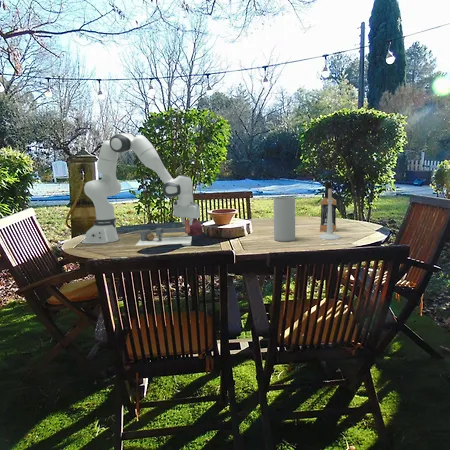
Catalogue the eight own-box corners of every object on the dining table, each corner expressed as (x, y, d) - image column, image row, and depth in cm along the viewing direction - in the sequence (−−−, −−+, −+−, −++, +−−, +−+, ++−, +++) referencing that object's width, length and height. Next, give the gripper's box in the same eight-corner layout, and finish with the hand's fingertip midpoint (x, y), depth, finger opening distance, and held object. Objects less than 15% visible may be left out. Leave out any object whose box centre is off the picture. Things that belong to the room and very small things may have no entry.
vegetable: (200, 240, 260) (200, 219, 253) (185, 238, 262) (185, 217, 255) (204, 233, 269) (205, 213, 263) (190, 231, 271) (190, 211, 265)
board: (135, 247, 228) (134, 235, 227) (141, 240, 249) (140, 229, 247) (190, 245, 229) (190, 232, 228) (191, 238, 250) (191, 227, 249)
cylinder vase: (275, 242, 229) (274, 199, 226) (273, 238, 242) (272, 197, 238) (296, 241, 229) (296, 198, 225) (293, 237, 242) (293, 196, 238)
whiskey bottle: (336, 229, 264) (336, 181, 259) (336, 231, 255) (336, 182, 250) (320, 229, 267) (320, 181, 262) (319, 231, 257) (320, 182, 252)
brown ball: (146, 241, 238) (146, 234, 238) (147, 240, 243) (147, 232, 242) (153, 241, 239) (153, 233, 238) (154, 239, 243) (154, 232, 242)
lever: (155, 235, 235) (154, 222, 234) (156, 233, 242) (156, 220, 241) (189, 234, 236) (189, 221, 234) (190, 232, 243) (189, 219, 241)
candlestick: (334, 235, 243) (334, 186, 239) (344, 239, 231) (345, 188, 226) (315, 237, 241) (315, 187, 236) (324, 240, 228) (324, 189, 224)
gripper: (201, 202, 234) (202, 225, 236) (178, 201, 247) (180, 222, 250) (194, 203, 229) (195, 226, 231) (171, 202, 243) (172, 224, 245)
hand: (187, 224), depth 241 cm, fingers open, 4 cm apart
